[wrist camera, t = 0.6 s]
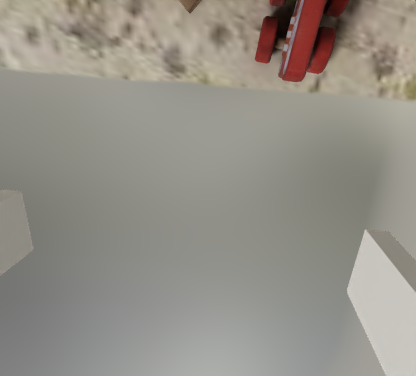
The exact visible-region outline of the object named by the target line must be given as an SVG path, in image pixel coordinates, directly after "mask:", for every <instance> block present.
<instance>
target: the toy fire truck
mask: <svg viewBox="0 0 416 376" xmlns="http://www.w3.org/2000/svg"><path fill="white" fill-rule="evenodd" d="M348 1H349V0H297V1H296V5H295V9H294V13H293V16H292V17H291V21H290V25H289V28H288V32H287V37H286V39H284V38H280V37H276V34H277V29H278V25H279V19H278V18H276V17H270V16H266V17H265V18H264V20H263V24H262V28H261V33H260V38H259V42H258V47H257V52H256V57H255V60H256V61H257V62H262V63H269V62H270V59H271V55H272V51H273V48H277V49H282V50H283V53H282V61H281V65H280V69H279V74H278V76H279V77H280V78H282V79H283V80H285V81H292V82H300V81H302V80H303V79H304V77H305V74H306V71H307V72H311V73H316V74H319V73H321V72H322V71H323V70H324V69H325V67H326V65H327V63H328V61H329V58H330V56H331V53H332V50H333V46H334V42H335V36H336V32H335V29H333V28H329V27H323V26H322V27H319V25H320V21H321V18H322V14H323V13H324V14H325V15H326V16H332V17H338V16H340V15H341V13H342V12H343V11H344V9H345V7H346V5H347V3H348ZM285 2H286V0H270V4H271V5H274V6H281V7H282V6H284V5H285Z"/></svg>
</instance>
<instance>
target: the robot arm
mask: <svg viewBox="0 0 416 376" xmlns="http://www.w3.org/2000/svg"><path fill="white" fill-rule="evenodd" d="M33 250H34V248H33V244H32V239H31V234H30V230H29V225H28V221H27V215H26V211H25V207H24V201H23V197H22V192H21V191H14V190H2V191H0V276H1V275H2V274H3V273H4V272H6V271H7V270H8V269H9V268H11V267H12V266H13V265H15V264H16V263H17V262H18V261H20V260H21V259H22V258H23V257H25V256H26V255H27V254H29V253H30V252H31V251H33ZM347 293H348V295H349V298H350V300H351V302H352V304H353V306H354V308H355V310H356V313H357V315H358V317H359V319H360V321H361V323H362V325H363V328H364V330H365V332H366V334H367V336H368V338H369V340H370V342H371V345H372V347H373V349H374V351H375V353H376V355H377V358H378V360H379V362H380V364H381V366H382V368H383V370H384V373H385V375H386V376H416V261H415V260H414V258H412V256H411V255H410V254H409V253H408V252H407V251H406V250H405V249H404V248H403V247H402V245H401V244H400V243H399V242H398V241H397V240H396V239H395V238H394V237H393V236H392V235H391V234H390V233H389V232H386V231H378V230H368V229H365V232H364V236H363V239H362V243H361V246H360V249H359V252H358V256H357V259H356V262H355V265H354V269H353V272H352V276H351V279H350V282H349V286H348V289H347Z"/></svg>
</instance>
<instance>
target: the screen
mask: <svg viewBox="0 0 416 376" xmlns="http://www.w3.org/2000/svg"><path fill="white" fill-rule="evenodd" d="M179 1H180V2H181V3H182V5H183V6H184V7H185V8H186V9H187V11H188V12H189V13H191V12H192V11H193V9H194V8H195V7H196V6H197V5H198V4H199V2H200V1H201V0H179Z"/></svg>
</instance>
